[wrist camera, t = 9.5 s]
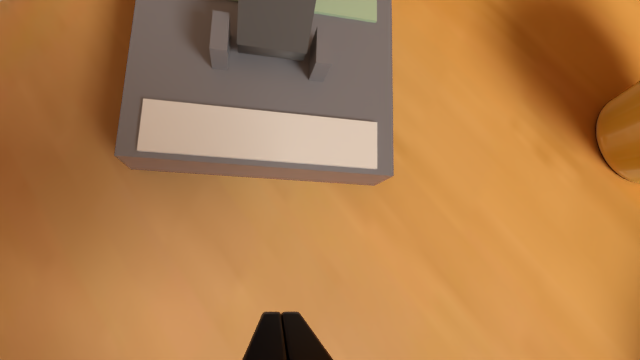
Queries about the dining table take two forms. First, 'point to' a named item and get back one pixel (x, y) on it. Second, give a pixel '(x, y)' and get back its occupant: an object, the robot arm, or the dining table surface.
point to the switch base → (259, 95)
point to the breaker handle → (275, 27)
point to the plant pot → (621, 133)
